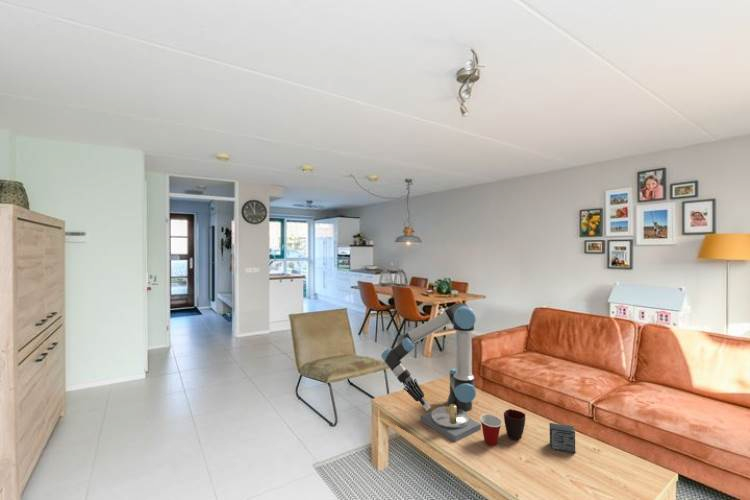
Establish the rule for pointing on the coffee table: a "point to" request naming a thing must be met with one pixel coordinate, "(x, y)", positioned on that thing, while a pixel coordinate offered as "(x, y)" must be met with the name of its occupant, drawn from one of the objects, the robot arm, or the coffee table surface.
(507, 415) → the mug
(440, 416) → the silver disc with stripe
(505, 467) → the coffee table surface
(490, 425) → the plastic cup
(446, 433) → the stand
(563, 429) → the small box
